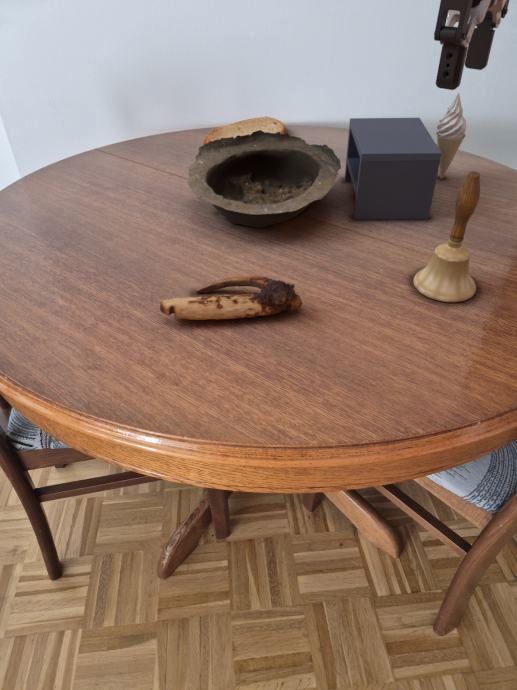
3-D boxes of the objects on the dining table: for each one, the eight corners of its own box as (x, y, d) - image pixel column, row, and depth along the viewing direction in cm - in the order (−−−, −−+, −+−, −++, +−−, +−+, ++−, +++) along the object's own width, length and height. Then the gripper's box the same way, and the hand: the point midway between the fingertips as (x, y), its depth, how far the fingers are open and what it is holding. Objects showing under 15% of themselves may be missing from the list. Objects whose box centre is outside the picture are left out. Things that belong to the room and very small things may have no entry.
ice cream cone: (422, 175, 102) (437, 90, 92) (444, 170, 103) (462, 86, 94) (437, 185, 98) (456, 98, 89) (461, 181, 100) (481, 94, 90)
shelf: (409, 178, 101) (419, 117, 94) (428, 219, 89) (441, 153, 82) (344, 178, 101) (349, 118, 94) (354, 219, 89) (361, 153, 82)
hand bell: (438, 262, 79) (464, 154, 69) (488, 287, 74) (523, 175, 64) (400, 282, 75) (421, 171, 65) (450, 310, 70) (481, 195, 60)
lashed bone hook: (293, 285, 76) (163, 292, 74) (294, 256, 73) (159, 262, 71) (304, 325, 68) (161, 334, 67) (307, 294, 66) (156, 302, 64)
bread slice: (283, 126, 123) (283, 109, 121) (292, 156, 110) (292, 138, 107) (204, 129, 123) (203, 112, 120) (203, 160, 109) (201, 141, 106)
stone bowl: (291, 166, 105) (295, 118, 99) (362, 232, 89) (372, 179, 83) (169, 190, 97) (164, 139, 91) (222, 266, 81) (221, 212, 75)
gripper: (529, -133, 39) (475, 102, 50) (571, -133, 48) (518, 66, 59) (430, -130, 43) (399, 90, 53) (486, -131, 51) (450, 58, 62)
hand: (461, 77), depth 56 cm, fingers open, 8 cm apart
